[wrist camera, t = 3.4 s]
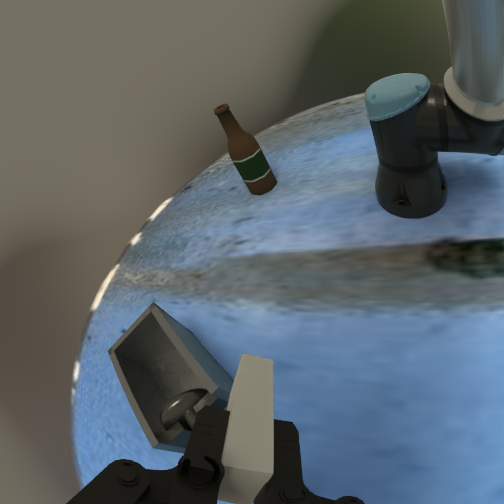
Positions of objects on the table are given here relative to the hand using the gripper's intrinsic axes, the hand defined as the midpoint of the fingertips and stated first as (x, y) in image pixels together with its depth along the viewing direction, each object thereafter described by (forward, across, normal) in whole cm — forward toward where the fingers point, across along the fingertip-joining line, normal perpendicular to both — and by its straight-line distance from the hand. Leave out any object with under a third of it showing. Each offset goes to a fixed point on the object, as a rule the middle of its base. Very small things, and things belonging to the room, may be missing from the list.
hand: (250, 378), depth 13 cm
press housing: (+24, -5, -24) cm, 34 cm away
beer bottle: (+62, -3, +10) cm, 63 cm away
